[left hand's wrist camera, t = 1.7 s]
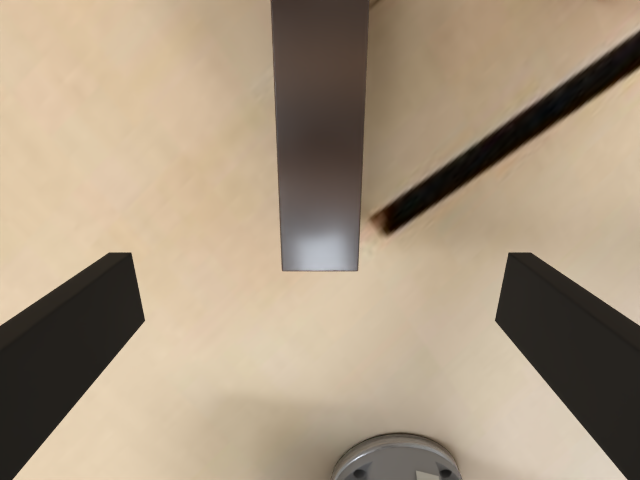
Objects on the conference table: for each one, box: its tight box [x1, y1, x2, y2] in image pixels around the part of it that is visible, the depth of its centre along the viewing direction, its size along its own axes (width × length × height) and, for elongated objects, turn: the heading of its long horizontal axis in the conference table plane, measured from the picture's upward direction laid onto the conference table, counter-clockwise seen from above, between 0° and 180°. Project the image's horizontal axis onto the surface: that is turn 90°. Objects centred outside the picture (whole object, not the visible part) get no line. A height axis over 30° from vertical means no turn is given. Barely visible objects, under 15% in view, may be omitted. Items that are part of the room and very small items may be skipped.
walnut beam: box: [271, 0, 369, 271], centre depth 22 cm, size 28×5×9 cm, turn 0°
